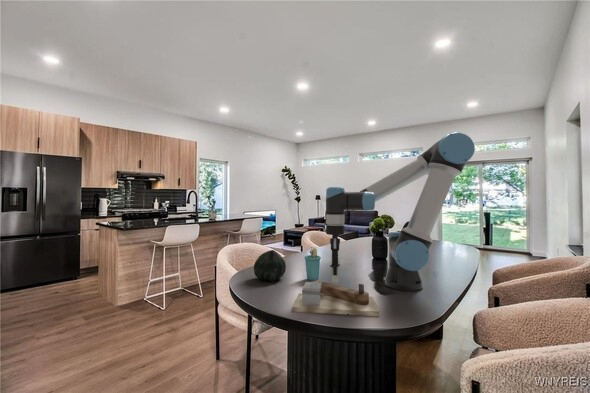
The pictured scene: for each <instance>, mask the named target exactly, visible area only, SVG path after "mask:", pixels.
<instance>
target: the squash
mask: <svg viewBox="0 0 590 393" xmlns="http://www.w3.org/2000/svg"><path fill="white" fill-rule="evenodd" d="M286 270H287V265H286V261H285V260H284V258H283V257H282V255H281V254H280V253H279V252H277V251H276V250H275V249H271V250H268V251H264V252H263V253H262V254H260V255H259V256H258V257H257V259H256V260H255V262H254V264H253V274H254V275H255V277H257V279H259V280H264V281H269V282H274V280H275V282H277V281H279V280H280V279H281V278H282V277H283V276H284V275H285V272H286Z"/></svg>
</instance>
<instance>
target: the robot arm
mask: <svg viewBox="0 0 590 393" xmlns="http://www.w3.org/2000/svg"><path fill="white" fill-rule="evenodd" d="M475 150H476V146H475V143H474V141H473V139H472V138H471V137H470V136H469V135H468V134H466V133H462V132H452V133H449V134H445V135H444V136H443V137H442V138H441V139H439V140H438V141H436V142H435V143H434V144H433V145H432V146H430V147H429V148H428V149H427V150H425V151H424V152H423V153H421V154H419V155H417V157H416V159H415V160H413V161H411V162H409V163H407V164H406V165H404V166H403V167H401V168H399V169H398V170H396V171H394V172H391V173H390V174H388V175H386V176H385V177H383V178H381V179H379V180H378V181H376V182H374V183H372V184H370V185H368V186H367V187H365V188H363V189H362V190H360V191H350V192H349V191H345V188H344V187H343V186H342V187H341V186H329V187H327V188H326V191H325V192H326V194H325V215H324V217H323V218H324V220H325V224H326V225H325V233H326V235H328V236H332V237H331V238H330V240H329V243H330V250H331V264H330V265H329V267H330V268H331V284H339V267H340V266H341V264H340V263H339V251H340V244H341V239H340V238H339V236H343V235H344V234H345V225H344V224H345V223H346V222H345V218H346V217H345V211H359V212H360V211H365V212H367V211H374V210H375V207H376V203H377V202H378V201H380V200H381V199H384V198H386V197H387V196H389V195H391V194H393V193H394V192H396V191H398V190H400V189H402V188H404V187H406V186H408V185H409V184H411V183H413V182H415V181H416V180H418V179H420V178H423V177H424V176H427V178H426V181H425V183H424V186H423V188H422V190H421V193H420V195H419V198H418V199H417V203H416V205H415V206H414V207H415V208H414V209H413V212H412V215H411V217H410V219H409V221H408V224H407V226H406V227H404V228H401V230H400V232H398V231H397V232H395V231H394V232H389V233H388V239H387V240H388V263H389V264H388V269H387V272H386V275H385V277H384V278H385V279H384V282H385V283H384V285H385V286H387V287H389V288H390V289H393V290H399V291H408V292H409V291H410V292H411V291H413V292H414V291H419V290H423V286H424V285H423V280H422V277H421V274H420V270H421V269H424V268H425V267H426V266H427V265H428V264H429V260H430V252H429V250H430V248H431V246H432V243H433V240H432V237H431V234H432V233H433V230H434V227H435V225H436V223H437V220H438V218H439V216H440V213H441V210H442V208H443V206H444V204H445V201H446V199H447V197H448V194H449V191H450V189H451V187H452V185H453V182H454V180H455V177H457V176H459V175H462V173H463V170H464V168H465V165H466V163H468V162H469V161H470V160H471V159H472V157H473V156H474V154H475Z"/></svg>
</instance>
